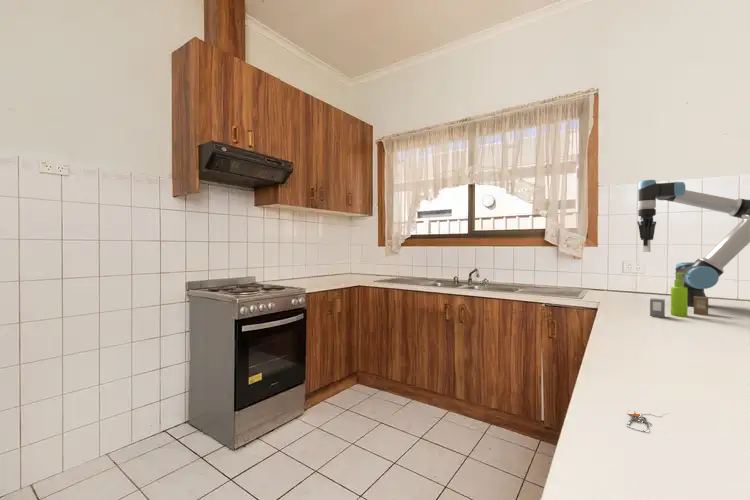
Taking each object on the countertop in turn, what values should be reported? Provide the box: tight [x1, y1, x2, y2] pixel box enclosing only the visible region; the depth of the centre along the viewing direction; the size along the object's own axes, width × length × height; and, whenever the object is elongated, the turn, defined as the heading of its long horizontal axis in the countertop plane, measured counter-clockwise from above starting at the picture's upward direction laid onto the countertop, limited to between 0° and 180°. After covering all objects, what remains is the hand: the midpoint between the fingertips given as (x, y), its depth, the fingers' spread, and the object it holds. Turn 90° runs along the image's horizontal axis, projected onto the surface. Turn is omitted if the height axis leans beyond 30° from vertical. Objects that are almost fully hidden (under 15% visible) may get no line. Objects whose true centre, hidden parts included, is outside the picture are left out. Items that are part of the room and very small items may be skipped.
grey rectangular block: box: [649, 297, 666, 319], centre depth 161 cm, size 5×5×8 cm
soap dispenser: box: [670, 272, 689, 317], centre depth 163 cm, size 6×7×20 cm
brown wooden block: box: [693, 296, 709, 316], centre depth 166 cm, size 5×5×8 cm
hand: (646, 251), depth 190 cm, fingers closed
